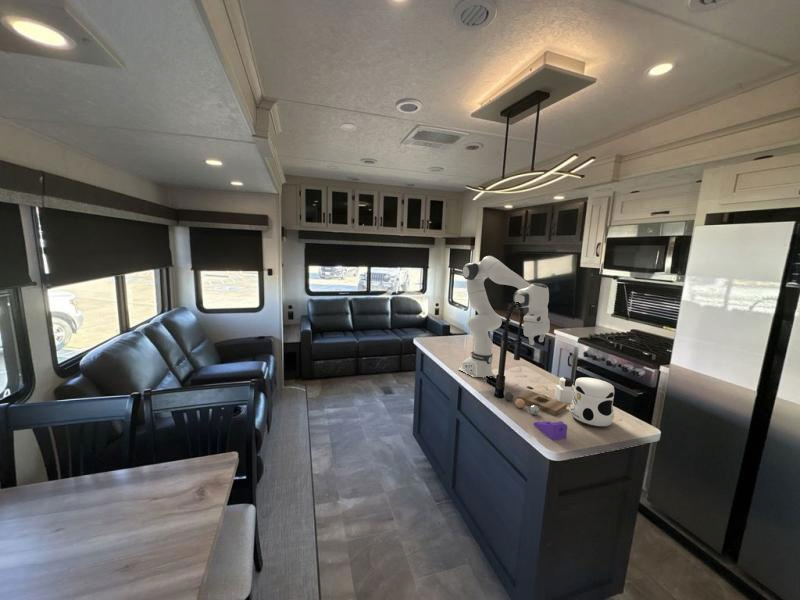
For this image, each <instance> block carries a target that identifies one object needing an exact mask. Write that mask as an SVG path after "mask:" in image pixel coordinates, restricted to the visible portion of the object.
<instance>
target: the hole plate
mask: <svg viewBox="0 0 800 600" xmlns="http://www.w3.org/2000/svg"><path fill="white" fill-rule="evenodd" d="M516 397H517V398H516V400H517V399H523V400H524V402H525V405H527V406H529V407H530V406H532V405H536V406H537V407H538V408H539V411H542V412H544V413H547V414H550V415H551V416H557V415H559V414H561V413H562V412H563V411H565V410H567V407H568V403H563V402H560V401H558V400H557V399H556V398H551V397H548V396H546V395H542V394H540V393H537V392H535V391H532V390H530V389H529V390H526V391H524V392H523V393H520V394H518V395H517V396H516Z"/></svg>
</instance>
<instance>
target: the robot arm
mask: <svg viewBox="0 0 800 600" xmlns="http://www.w3.org/2000/svg"><path fill="white" fill-rule="evenodd" d="M462 267H463V268H462V270H461V272H462V273H461V274H462V276H463V277H464V279H465V280H466V289H467V296H468V299H469V304H470V306H471V308H472V309H474V310H475V312H477V314H475V315H473V316H470V317H469V318H468V319H467V322H466V323H467V324H466V325H467V328H468V330H469V331H470V332H471V334H472V336H473V339H474V340H473V342H474V344H473V345H474V347H473V351H470V353H469V354H470V356H469V357H468V358H466V359H464V360H463V362H462V364H461V366H459V367H458V369H459V370H461V371H463V372H465V373H466V374H465V373H464V374H465V375H467V374H469V375H471V376H472V377H471V376H470V377H471V378H473V377H483V378H482V379H485V378H484V377H486V376H492V375H493V376H494V372H493V365H492V363H493V345H494V344H493V340H492V339H491V338H490V337H489V332H491V331H496V330H497V329H499V328H500V327H501V326H502V323H503V322H502V321H503V319H502V317H501V315H500V314H498V313H497V312H496V311H495V310H494V309H493V307H492V306H491V303H490V301H489V297H488V295H487V291H486V288H485V284H484V283H485V281H487V282H488V281H489V280H491V281H492V282H494V283H495V284H498V285H506V286H511V287H514V288H517V290H516V291H515V292H514V294H513V295H512V296H513V299H512V301H513V303H514V302H515V303H514V305H515V304H518V303H516V302H519V303H520V304H521V306H522V307H521V308H528V312H527V313H526V314H525V315H524V316H523V321H524V322H523V335H524V337H527V338H528V341H529V345H530V346H534V345H535V340H534V338H535V337H537V336H539V338H538V342H539V343H543V342H544V339H545V336H546V334H547V333H549V332H550V330H551V326H550V325H551V323H550V322H551V321H550V318H549V308H548V305H549V302H550V300H549V299H550V292H549V290H550V289H549V287H548V285H546V284H545V283H539V282H534V283H530V281H528V280H527V279H525V278H524V277H523V276H521V275H520V274H518V273H516V272H514V271H513V270H511V269H510V268H509V267H508V266H506V265H505V264H504V263H503V262H501V260H499V259H497V258H496V257H494V256H492V255H487V256H486V255H485V256H484V257H483V258H482V260H480V261H475V262H474V261H473V262H468V263H466V264H464V265H463V266H462ZM515 306H516V307H518V305H515ZM460 367H461V368H460ZM458 369H457V370H458ZM459 370H458V371H459ZM461 371H460V372H461ZM463 372H462V373H463ZM469 375H468V376H469Z"/></svg>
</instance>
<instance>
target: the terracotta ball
mask: <svg viewBox="0 0 800 600" xmlns="http://www.w3.org/2000/svg"><path fill="white" fill-rule="evenodd" d="M514 404H515V406H516V407H517V408H519V409H522V408H524V407H525V405H526V404H525V402H524V400H523V399H517V398H516V399H515V403H514Z"/></svg>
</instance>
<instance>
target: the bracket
mask: <svg viewBox="0 0 800 600" xmlns="http://www.w3.org/2000/svg"><path fill="white" fill-rule="evenodd" d="M533 426H534V427H535V428H536V429H538V430H539V431H540V432H541V433H543V434H544V435H545V436H546V437H548V438H549V439H550V440H551V441H555V440H562V439H563V440H564V439H567V433H568V425H567V424H566V423H565V422H563V421H554V422H552V421H550V420H545V421H534V422H533Z"/></svg>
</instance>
